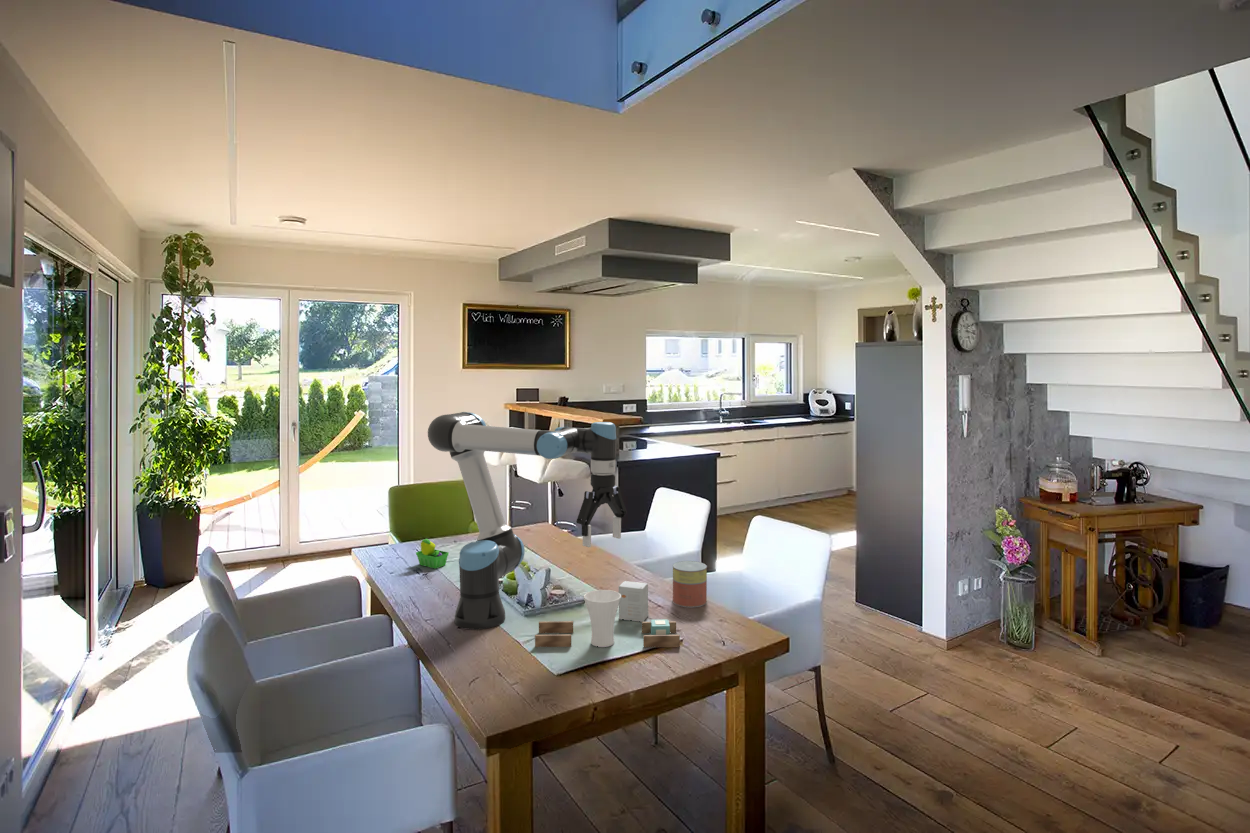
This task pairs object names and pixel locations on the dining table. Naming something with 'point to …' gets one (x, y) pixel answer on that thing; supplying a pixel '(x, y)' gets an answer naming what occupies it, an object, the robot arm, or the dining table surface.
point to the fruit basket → (431, 555)
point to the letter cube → (660, 627)
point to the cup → (602, 615)
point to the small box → (633, 601)
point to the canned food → (689, 584)
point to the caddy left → (554, 639)
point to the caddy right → (660, 637)
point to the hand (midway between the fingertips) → (602, 542)
